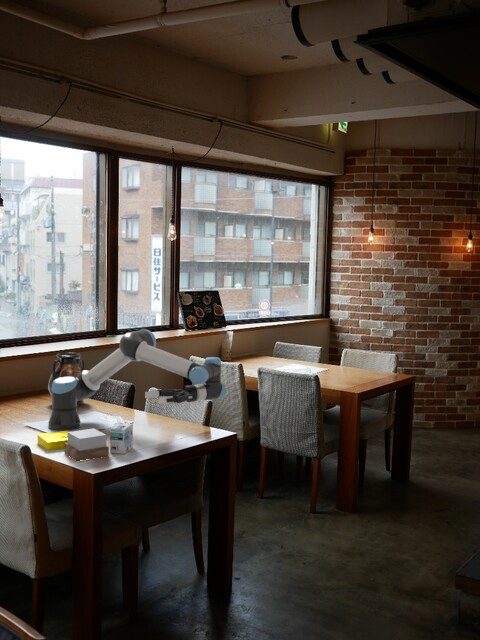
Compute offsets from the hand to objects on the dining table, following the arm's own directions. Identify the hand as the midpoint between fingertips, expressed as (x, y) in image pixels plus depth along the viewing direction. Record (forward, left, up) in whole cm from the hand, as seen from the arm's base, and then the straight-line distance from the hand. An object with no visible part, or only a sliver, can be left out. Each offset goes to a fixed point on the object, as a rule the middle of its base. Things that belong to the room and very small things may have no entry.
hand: (152, 397), depth 318 cm
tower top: (0, -30, -17) cm, 35 cm away
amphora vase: (-96, -4, -22) cm, 98 cm away
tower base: (-1, -30, -22) cm, 37 cm away
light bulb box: (-1, -14, -22) cm, 26 cm away
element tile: (-22, -35, -22) cm, 47 cm away
